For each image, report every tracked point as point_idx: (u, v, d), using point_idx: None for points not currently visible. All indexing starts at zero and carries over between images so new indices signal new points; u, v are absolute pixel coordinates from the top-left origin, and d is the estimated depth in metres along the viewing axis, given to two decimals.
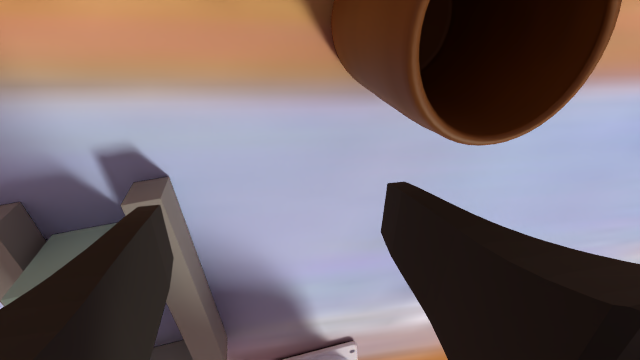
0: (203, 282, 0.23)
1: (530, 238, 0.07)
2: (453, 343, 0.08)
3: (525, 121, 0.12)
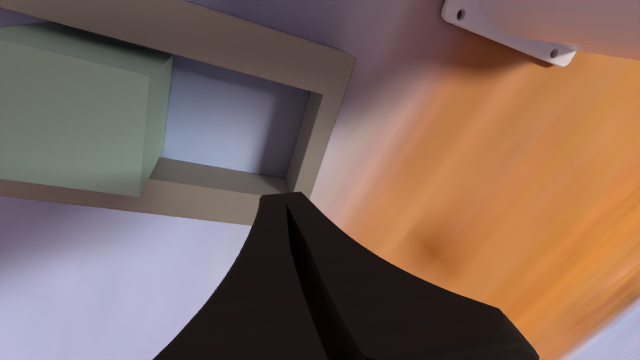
0: (192, 3, 0.14)
1: (378, 260, 0.06)
2: None
3: None
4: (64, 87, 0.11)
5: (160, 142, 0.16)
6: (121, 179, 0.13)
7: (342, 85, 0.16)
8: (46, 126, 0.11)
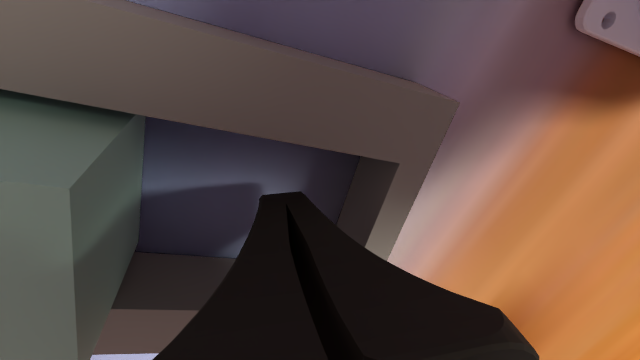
0: (172, 16, 0.08)
1: (378, 260, 0.06)
2: None
3: None
4: None
5: (130, 241, 0.10)
6: None
7: (432, 147, 0.09)
8: None
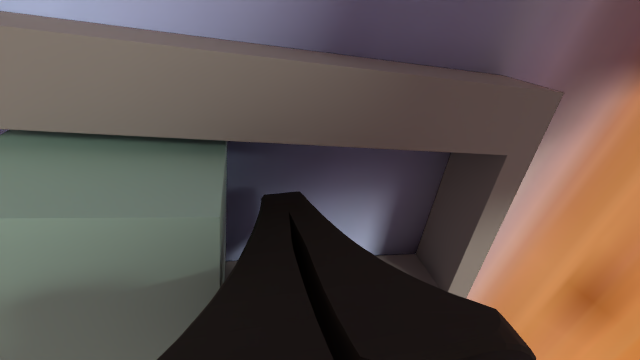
0: (300, 52, 0.09)
1: (375, 260, 0.06)
2: None
3: None
4: (71, 268, 0.06)
5: None
6: None
7: (537, 136, 0.10)
8: (52, 330, 0.06)
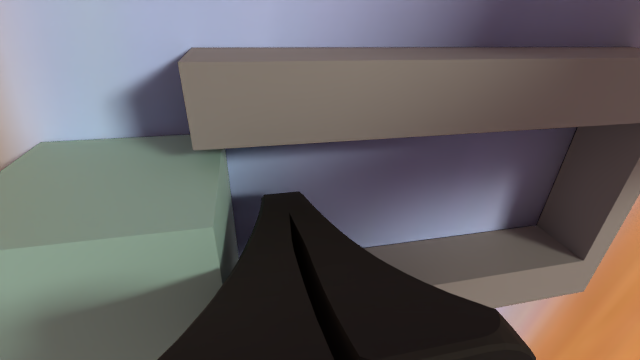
0: (470, 50, 0.10)
1: (375, 260, 0.06)
2: None
3: None
4: (78, 288, 0.06)
5: (235, 256, 0.11)
6: None
7: None
8: (71, 348, 0.07)
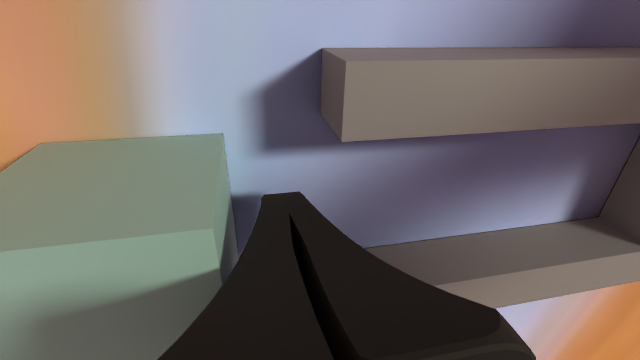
0: (570, 50, 0.11)
1: (375, 260, 0.06)
2: None
3: None
4: (78, 290, 0.06)
5: (235, 257, 0.11)
6: None
7: None
8: (71, 350, 0.07)
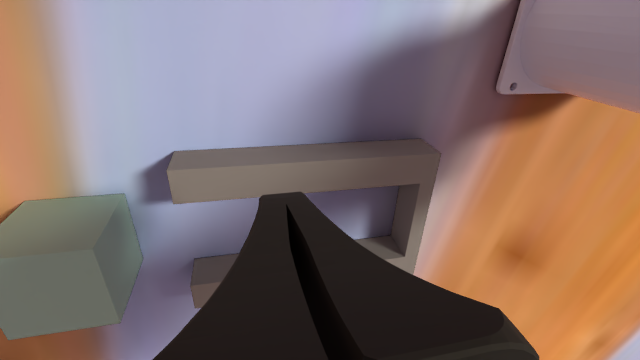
0: (316, 148, 0.20)
1: (378, 260, 0.06)
2: None
3: None
4: (37, 273, 0.15)
5: (135, 260, 0.20)
6: (102, 316, 0.17)
7: (433, 173, 0.20)
8: (35, 299, 0.15)
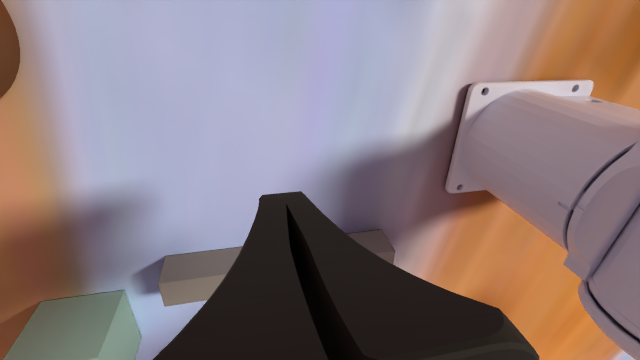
0: None
1: (378, 260, 0.06)
2: None
3: None
4: None
5: (134, 342, 0.24)
6: None
7: None
8: None
